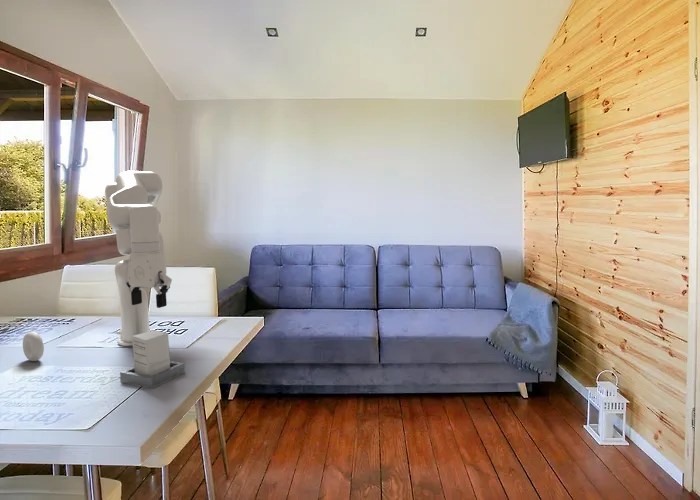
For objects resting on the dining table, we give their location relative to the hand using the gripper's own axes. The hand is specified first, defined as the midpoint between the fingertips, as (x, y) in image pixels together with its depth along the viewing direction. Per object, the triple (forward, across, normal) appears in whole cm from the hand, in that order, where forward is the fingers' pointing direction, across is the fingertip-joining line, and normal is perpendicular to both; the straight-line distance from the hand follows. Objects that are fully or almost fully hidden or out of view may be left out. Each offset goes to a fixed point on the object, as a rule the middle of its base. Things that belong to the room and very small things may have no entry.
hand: (149, 305), depth 126 cm
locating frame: (+22, 0, 0) cm, 22 cm away
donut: (+22, -49, -4) cm, 54 cm away
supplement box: (+22, 0, 0) cm, 22 cm away
